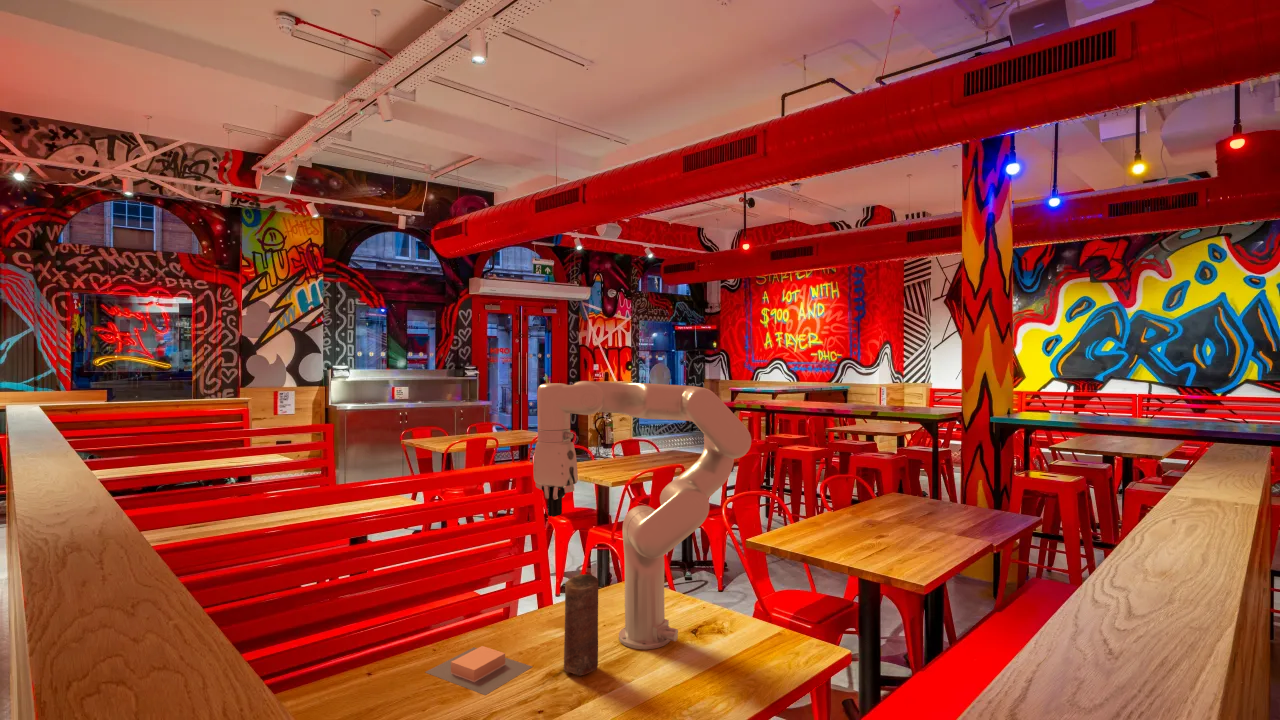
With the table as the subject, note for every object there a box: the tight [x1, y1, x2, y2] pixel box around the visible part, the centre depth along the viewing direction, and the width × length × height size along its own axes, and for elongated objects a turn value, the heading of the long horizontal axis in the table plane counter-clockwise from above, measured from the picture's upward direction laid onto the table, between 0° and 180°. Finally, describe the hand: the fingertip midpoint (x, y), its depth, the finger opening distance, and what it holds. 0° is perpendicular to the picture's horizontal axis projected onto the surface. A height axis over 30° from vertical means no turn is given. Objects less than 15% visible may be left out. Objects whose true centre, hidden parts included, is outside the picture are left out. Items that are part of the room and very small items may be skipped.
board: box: [424, 646, 533, 696], centre depth 143 cm, size 18×14×1 cm
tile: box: [451, 645, 506, 682], centre depth 144 cm, size 2×9×7 cm
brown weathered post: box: [563, 573, 599, 677], centre depth 144 cm, size 8×7×20 cm
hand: (554, 515), depth 155 cm, fingers closed
